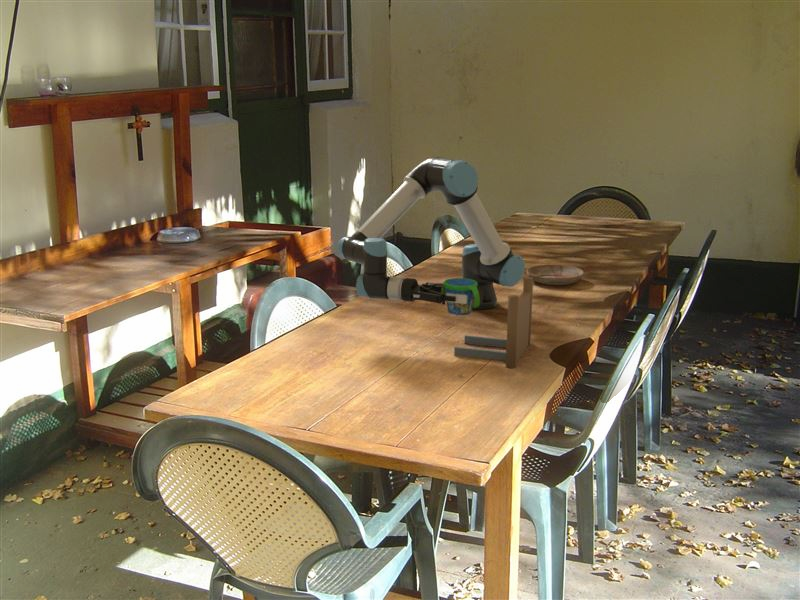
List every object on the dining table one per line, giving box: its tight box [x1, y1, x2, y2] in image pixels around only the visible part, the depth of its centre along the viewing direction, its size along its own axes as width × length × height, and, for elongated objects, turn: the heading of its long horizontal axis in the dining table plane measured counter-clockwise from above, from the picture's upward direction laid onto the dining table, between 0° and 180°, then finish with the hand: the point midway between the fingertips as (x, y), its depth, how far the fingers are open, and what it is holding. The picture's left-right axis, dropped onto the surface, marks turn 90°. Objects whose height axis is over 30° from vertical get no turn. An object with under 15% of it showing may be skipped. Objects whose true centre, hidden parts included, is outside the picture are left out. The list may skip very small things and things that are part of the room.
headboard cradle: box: [453, 276, 534, 369], centre depth 293 cm, size 27×20×22 cm
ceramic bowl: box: [525, 264, 585, 286], centre depth 384 cm, size 23×24×5 cm
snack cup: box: [441, 277, 480, 316], centre depth 295 cm, size 16×10×10 cm
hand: (470, 295), depth 293 cm, fingers closed on snack cup, 9 cm apart
